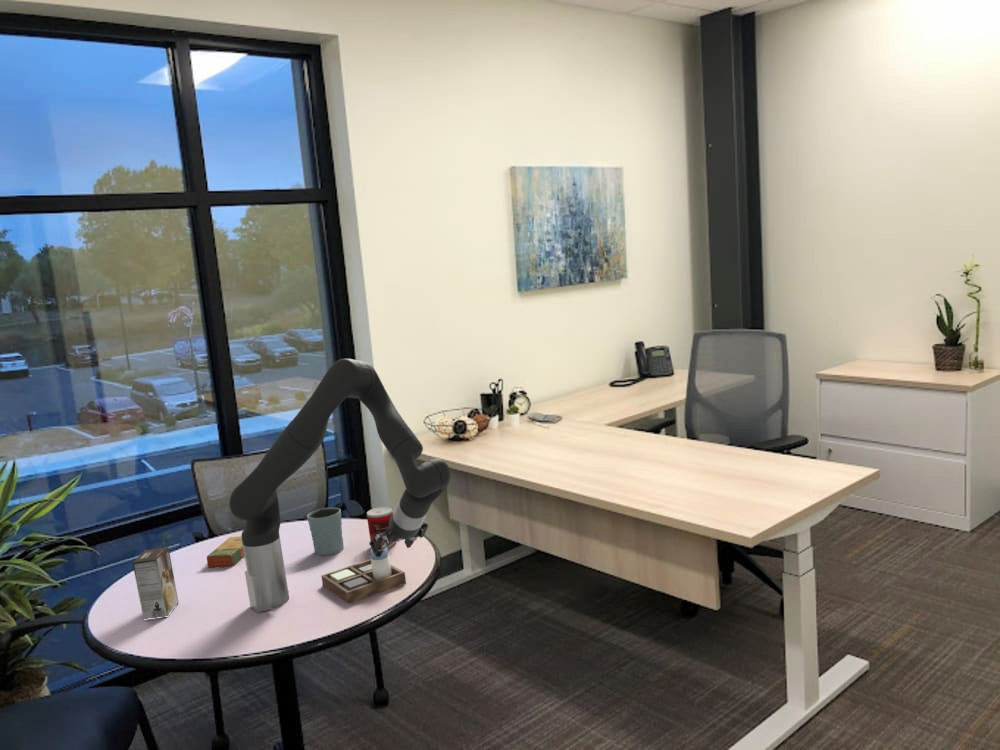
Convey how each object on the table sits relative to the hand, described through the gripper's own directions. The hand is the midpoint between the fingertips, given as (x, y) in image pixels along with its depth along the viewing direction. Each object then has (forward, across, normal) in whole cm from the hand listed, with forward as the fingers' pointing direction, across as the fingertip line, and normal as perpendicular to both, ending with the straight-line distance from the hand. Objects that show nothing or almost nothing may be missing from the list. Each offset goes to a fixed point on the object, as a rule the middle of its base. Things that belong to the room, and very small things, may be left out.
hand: (392, 549), depth 204 cm
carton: (+56, +23, -37) cm, 71 cm away
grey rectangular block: (+19, 0, -3) cm, 19 cm away
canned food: (+34, -14, -16) cm, 40 cm away
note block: (+19, +8, -2) cm, 21 cm away
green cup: (+42, -1, -23) cm, 48 cm away
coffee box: (+37, +49, -18) cm, 64 cm away
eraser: (+13, +8, +3) cm, 16 cm away
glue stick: (+13, 0, +3) cm, 14 cm away
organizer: (+17, +4, 0) cm, 17 cm away
